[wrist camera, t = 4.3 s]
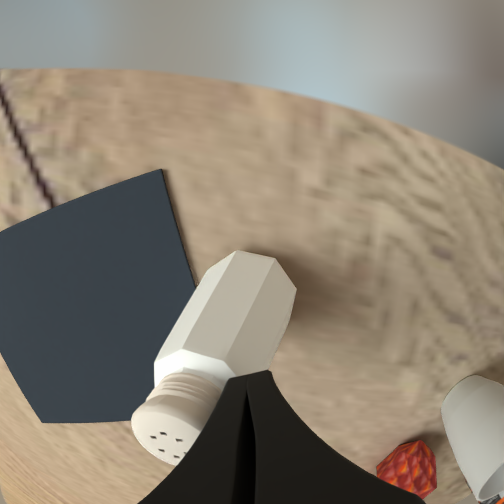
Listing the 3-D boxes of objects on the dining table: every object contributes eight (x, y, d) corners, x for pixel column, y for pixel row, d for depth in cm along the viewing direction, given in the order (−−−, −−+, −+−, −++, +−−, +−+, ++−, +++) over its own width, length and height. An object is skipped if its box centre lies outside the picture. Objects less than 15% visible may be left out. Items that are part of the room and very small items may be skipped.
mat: (43, 420, 21) (42, 422, 21) (-37, 251, 17) (-40, 251, 17) (237, 403, 21) (236, 405, 20) (161, 168, 17) (160, 168, 17)
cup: (412, 433, 23) (457, 511, 13) (452, 359, 21) (522, 434, 11) (470, 425, 24) (515, 486, 14) (506, 359, 22) (569, 414, 12)
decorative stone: (419, 429, 26) (391, 493, 24) (375, 430, 24) (345, 501, 22) (465, 446, 20) (431, 517, 18) (424, 453, 18) (385, 532, 16)
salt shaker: (192, 257, 18) (63, 368, 8) (287, 240, 17) (234, 373, 6) (217, 339, 19) (136, 481, 9) (305, 330, 18) (279, 498, 8)
